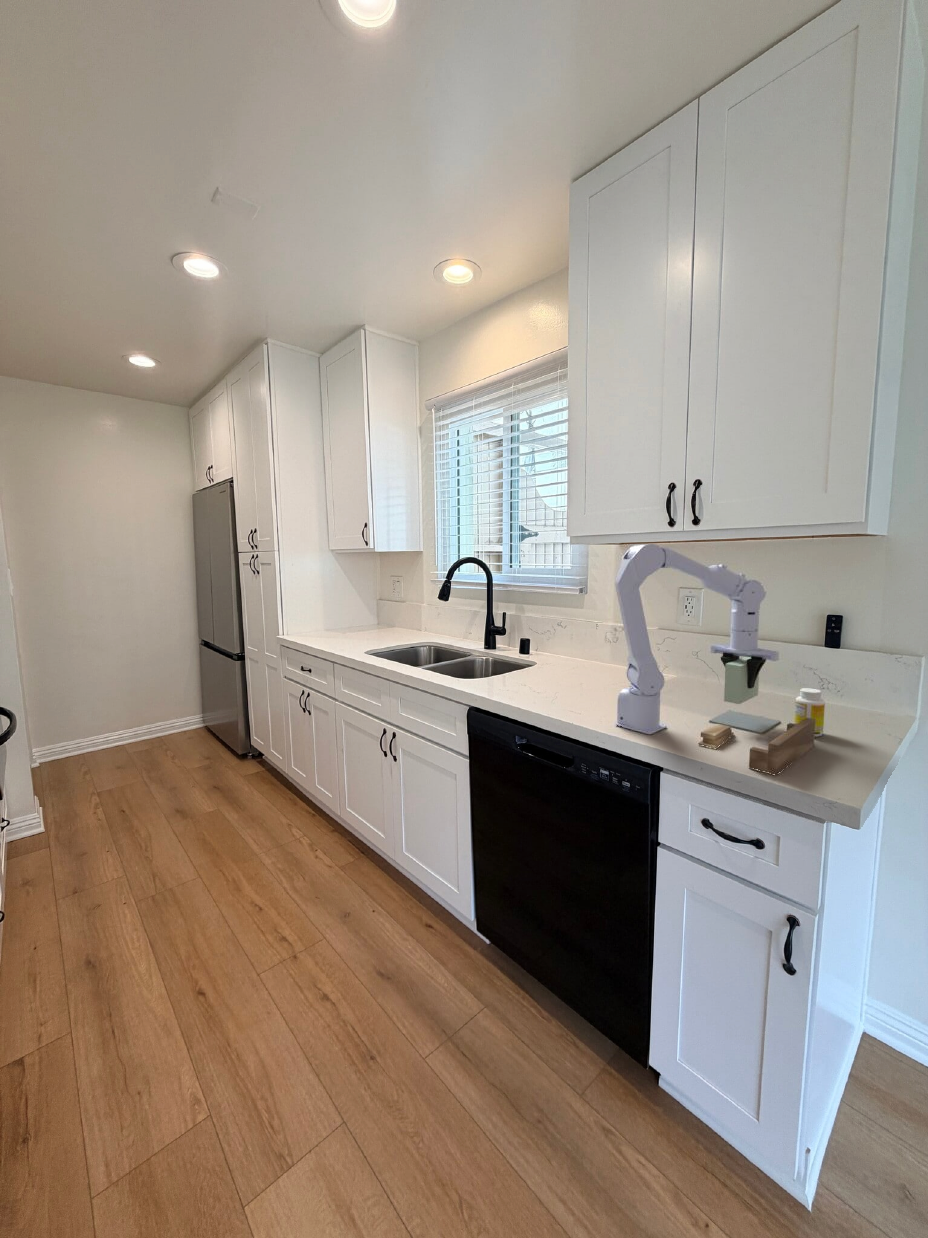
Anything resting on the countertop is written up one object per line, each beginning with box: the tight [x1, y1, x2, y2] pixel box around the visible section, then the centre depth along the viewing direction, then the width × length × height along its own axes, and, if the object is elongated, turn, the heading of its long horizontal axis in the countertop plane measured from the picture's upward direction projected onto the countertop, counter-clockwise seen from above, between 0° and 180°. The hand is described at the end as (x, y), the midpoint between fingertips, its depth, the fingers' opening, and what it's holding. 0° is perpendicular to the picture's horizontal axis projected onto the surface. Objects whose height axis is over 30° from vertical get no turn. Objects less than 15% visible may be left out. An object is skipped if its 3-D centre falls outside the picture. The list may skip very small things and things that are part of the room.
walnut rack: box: [748, 718, 815, 776], centre depth 104 cm, size 5×22×6 cm, turn 130°
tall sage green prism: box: [723, 656, 760, 705], centre depth 122 cm, size 3×11×9 cm, turn 130°
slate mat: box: [708, 710, 781, 735], centre depth 126 cm, size 12×12×1 cm
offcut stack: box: [697, 723, 735, 749], centre depth 114 cm, size 4×12×3 cm, turn 135°
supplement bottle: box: [793, 687, 826, 738], centre depth 117 cm, size 6×6×10 cm
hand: (741, 686), depth 122 cm, fingers closed on tall sage green prism, 3 cm apart
